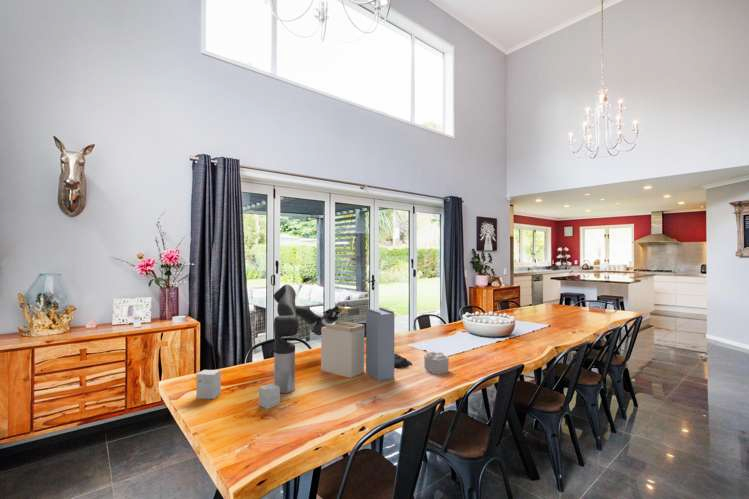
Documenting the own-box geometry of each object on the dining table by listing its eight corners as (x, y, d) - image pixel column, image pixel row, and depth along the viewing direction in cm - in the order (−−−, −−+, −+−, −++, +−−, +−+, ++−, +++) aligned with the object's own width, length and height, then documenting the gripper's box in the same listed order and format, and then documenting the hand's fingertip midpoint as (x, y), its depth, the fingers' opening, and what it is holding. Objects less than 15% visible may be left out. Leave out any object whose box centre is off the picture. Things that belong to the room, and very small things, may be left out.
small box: (221, 394, 154) (221, 370, 154) (213, 399, 148) (214, 374, 148) (203, 393, 154) (203, 369, 154) (195, 398, 149) (196, 373, 149)
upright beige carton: (364, 371, 183) (364, 324, 183) (351, 378, 174) (351, 328, 174) (334, 364, 194) (335, 320, 194) (321, 370, 185) (321, 323, 185)
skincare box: (271, 400, 147) (271, 382, 147) (280, 404, 144) (280, 386, 144) (258, 405, 143) (258, 387, 143) (267, 409, 139) (267, 390, 139)
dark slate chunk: (393, 355, 213) (393, 348, 213) (414, 366, 194) (414, 357, 194) (371, 359, 205) (371, 351, 205) (390, 370, 186) (390, 361, 186)
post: (394, 378, 174) (394, 311, 174) (377, 381, 170) (378, 312, 170) (381, 369, 186) (381, 307, 187) (365, 372, 182) (366, 308, 183)
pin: (359, 314, 176) (359, 307, 176) (350, 315, 174) (350, 308, 174) (340, 311, 194) (340, 305, 195) (332, 312, 192) (332, 306, 192)
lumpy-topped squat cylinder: (437, 375, 179) (437, 358, 179) (419, 368, 189) (419, 352, 189) (451, 371, 185) (451, 354, 185) (433, 364, 195) (433, 349, 195)
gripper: (316, 312, 199) (327, 301, 186) (339, 309, 207) (350, 298, 194) (319, 325, 196) (330, 315, 183) (342, 321, 204) (354, 311, 191)
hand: (340, 306), depth 189 cm, fingers closed on pin, 3 cm apart
